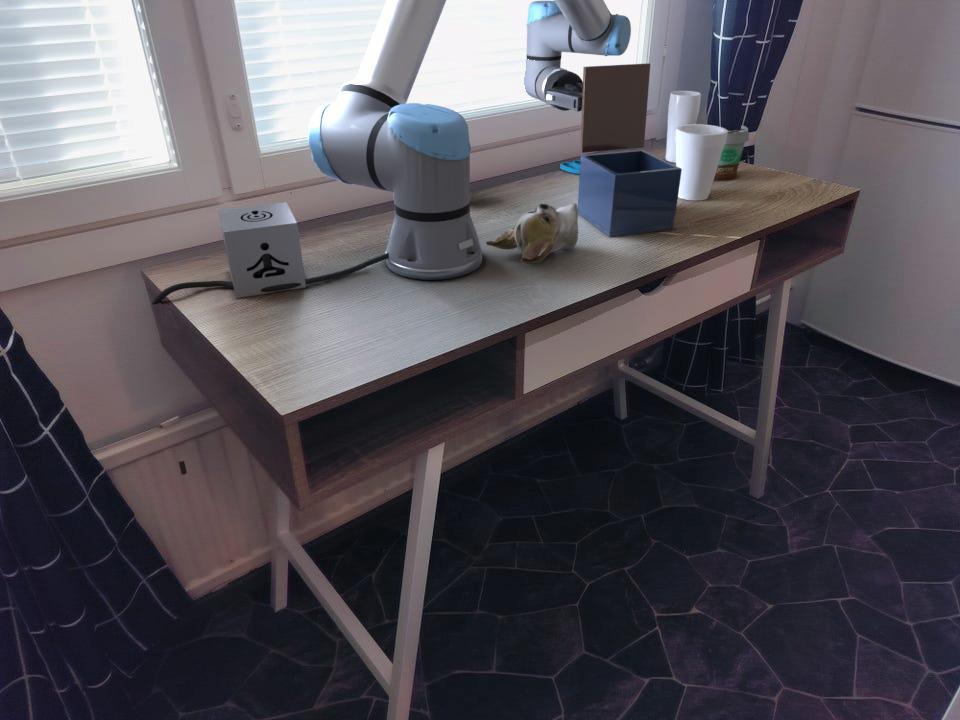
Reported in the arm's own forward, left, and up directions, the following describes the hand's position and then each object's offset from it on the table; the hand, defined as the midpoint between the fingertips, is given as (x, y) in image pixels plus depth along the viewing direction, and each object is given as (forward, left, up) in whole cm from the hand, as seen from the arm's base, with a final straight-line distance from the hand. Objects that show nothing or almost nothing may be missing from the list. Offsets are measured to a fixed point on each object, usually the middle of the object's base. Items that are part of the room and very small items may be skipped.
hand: (612, 110), depth 128 cm
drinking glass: (+31, +25, -18) cm, 44 cm away
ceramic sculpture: (-21, -19, -18) cm, 33 cm away
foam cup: (+20, +1, -18) cm, 27 cm away
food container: (+33, +10, -18) cm, 39 cm away
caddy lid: (0, -1, +1) cm, 1 cm away
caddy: (0, -8, -18) cm, 20 cm away
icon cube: (-64, -15, -18) cm, 68 cm away
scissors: (+8, +19, -18) cm, 27 cm away
